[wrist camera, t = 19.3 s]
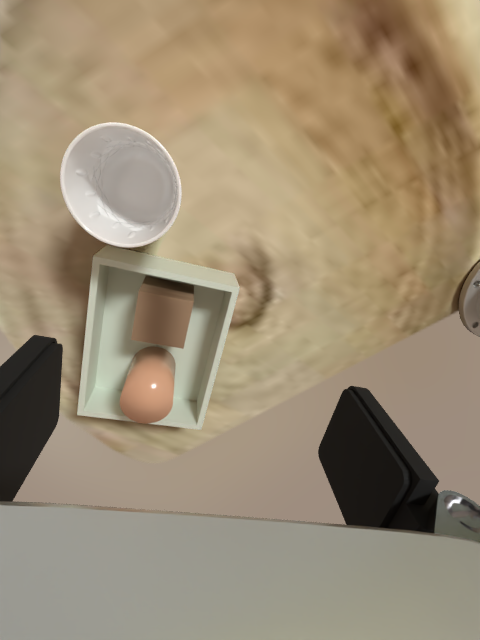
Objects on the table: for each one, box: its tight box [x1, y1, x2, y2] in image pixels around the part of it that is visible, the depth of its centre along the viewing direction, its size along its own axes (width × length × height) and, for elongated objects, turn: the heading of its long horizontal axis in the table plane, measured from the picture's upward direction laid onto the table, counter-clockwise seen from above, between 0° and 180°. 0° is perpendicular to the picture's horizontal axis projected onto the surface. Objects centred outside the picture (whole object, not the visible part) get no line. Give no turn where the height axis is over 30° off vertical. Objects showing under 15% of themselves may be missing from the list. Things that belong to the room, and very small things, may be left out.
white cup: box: [60, 122, 181, 248], centre depth 27 cm, size 8×8×10 cm
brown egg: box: [120, 346, 176, 423], centre depth 36 cm, size 5×5×7 cm
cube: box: [131, 276, 194, 349], centre depth 34 cm, size 5×5×5 cm
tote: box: [77, 245, 240, 430], centre depth 36 cm, size 13×17×5 cm
